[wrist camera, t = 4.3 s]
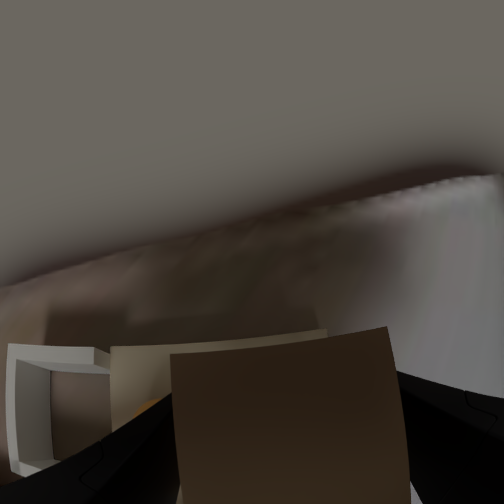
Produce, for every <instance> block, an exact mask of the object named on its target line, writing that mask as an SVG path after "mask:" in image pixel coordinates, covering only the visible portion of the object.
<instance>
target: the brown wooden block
mask: <svg viewBox="0 0 504 504" xmlns="http://www.w3.org/2000/svg"><path fill="white" fill-rule="evenodd" d="M170 371H171V390H172V406H173V419H174V430H175V441H176V451H177V460H178V468H179V476H180V484H181V491H182V498H183V504H411V489H410V473H409V460H408V449H407V440H406V431H405V423H404V416H403V409H402V402H401V396H400V389H399V384H398V378H397V372H396V367H395V362H394V357H393V352H392V347H391V342H390V338H389V333H388V329H387V326H386V327H381V328H376V329H371V330H366V331H361V332H356V333H350V334H345V335H339V336H333V337H327V338H321V339H315V340H308V341H301V342H294V343H287V344H279V345H271V346H262V347H253V348H244V349H233V350H222V351H210V352H195V353H178V354H170Z"/></svg>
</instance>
